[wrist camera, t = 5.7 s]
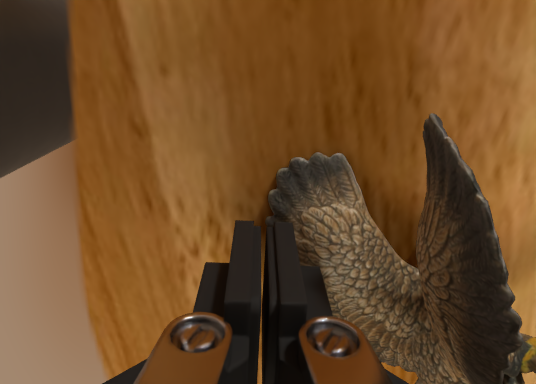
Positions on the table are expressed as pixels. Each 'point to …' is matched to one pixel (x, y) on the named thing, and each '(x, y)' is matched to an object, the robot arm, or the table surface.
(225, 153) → the table surface
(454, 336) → the eagle figurine
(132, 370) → the robot arm
